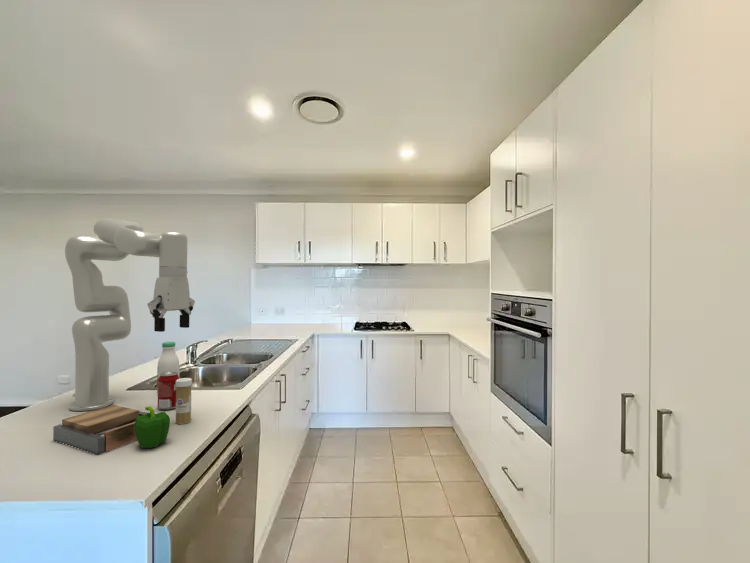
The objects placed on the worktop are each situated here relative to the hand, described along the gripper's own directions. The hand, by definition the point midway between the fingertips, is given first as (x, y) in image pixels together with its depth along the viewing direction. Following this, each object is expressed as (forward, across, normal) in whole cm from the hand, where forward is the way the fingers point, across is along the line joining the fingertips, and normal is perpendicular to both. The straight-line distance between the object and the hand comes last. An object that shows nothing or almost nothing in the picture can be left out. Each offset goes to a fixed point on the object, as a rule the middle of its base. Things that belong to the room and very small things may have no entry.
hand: (172, 329), depth 114 cm
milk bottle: (+30, -28, -28) cm, 50 cm away
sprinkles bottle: (+30, -4, +1) cm, 30 cm away
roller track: (+30, +10, -12) cm, 33 cm away
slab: (+27, +9, -16) cm, 33 cm away
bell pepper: (+30, +12, +5) cm, 32 cm away
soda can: (+30, -14, -14) cm, 36 cm away
